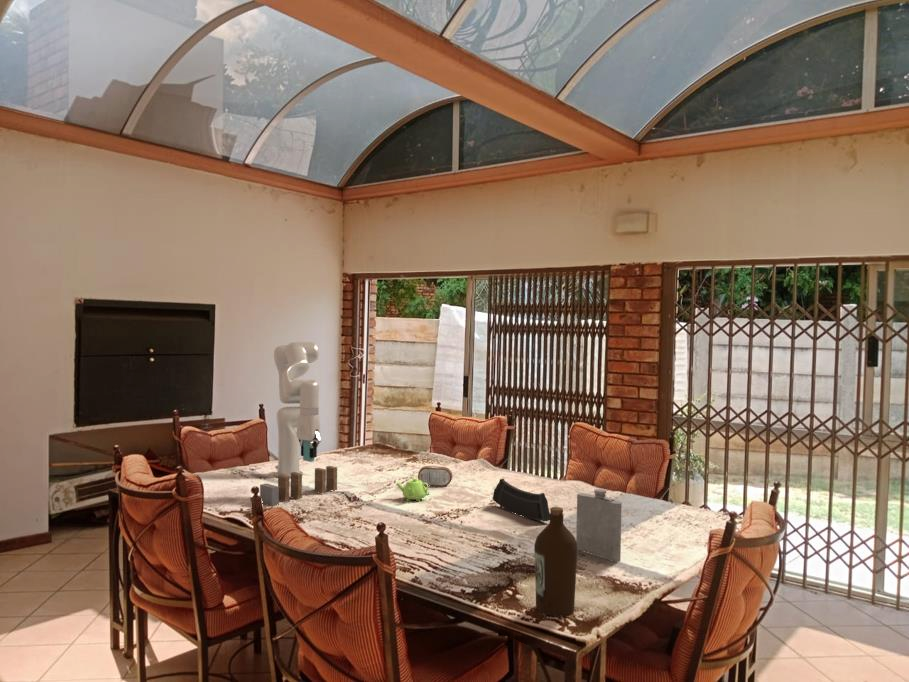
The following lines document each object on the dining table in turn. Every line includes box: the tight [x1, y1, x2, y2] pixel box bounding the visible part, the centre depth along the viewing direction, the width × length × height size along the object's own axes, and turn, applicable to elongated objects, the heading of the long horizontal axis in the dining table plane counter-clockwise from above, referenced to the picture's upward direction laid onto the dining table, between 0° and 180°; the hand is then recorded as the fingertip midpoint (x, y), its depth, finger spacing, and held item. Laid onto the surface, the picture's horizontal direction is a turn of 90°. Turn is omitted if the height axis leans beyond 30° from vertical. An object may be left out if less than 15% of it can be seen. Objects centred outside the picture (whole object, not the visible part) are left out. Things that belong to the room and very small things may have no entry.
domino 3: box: [302, 439, 315, 463], centre depth 284 cm, size 2×5×10 cm, turn 49°
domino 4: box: [314, 467, 327, 494], centre depth 289 cm, size 2×5×10 cm, turn 49°
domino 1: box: [277, 474, 291, 503], centre depth 275 cm, size 2×5×10 cm, turn 49°
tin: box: [417, 465, 453, 487], centre depth 305 cm, size 15×3×8 cm, turn 84°
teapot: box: [396, 477, 430, 502], centre depth 280 cm, size 11×12×8 cm
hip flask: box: [575, 488, 623, 562], centre depth 215 cm, size 16×4×20 cm, turn 41°
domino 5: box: [325, 465, 338, 492], centre depth 293 cm, size 2×5×10 cm, turn 49°
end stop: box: [259, 482, 280, 507], centre depth 270 cm, size 8×3×7 cm, turn 49°
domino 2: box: [290, 472, 303, 500], centre depth 280 cm, size 2×5×10 cm, turn 49°
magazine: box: [492, 478, 551, 522], centre depth 259 cm, size 17×3×30 cm
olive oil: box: [533, 506, 579, 617], centre depth 172 cm, size 11×11×25 cm
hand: (308, 456), depth 284 cm, fingers closed on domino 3, 4 cm apart
